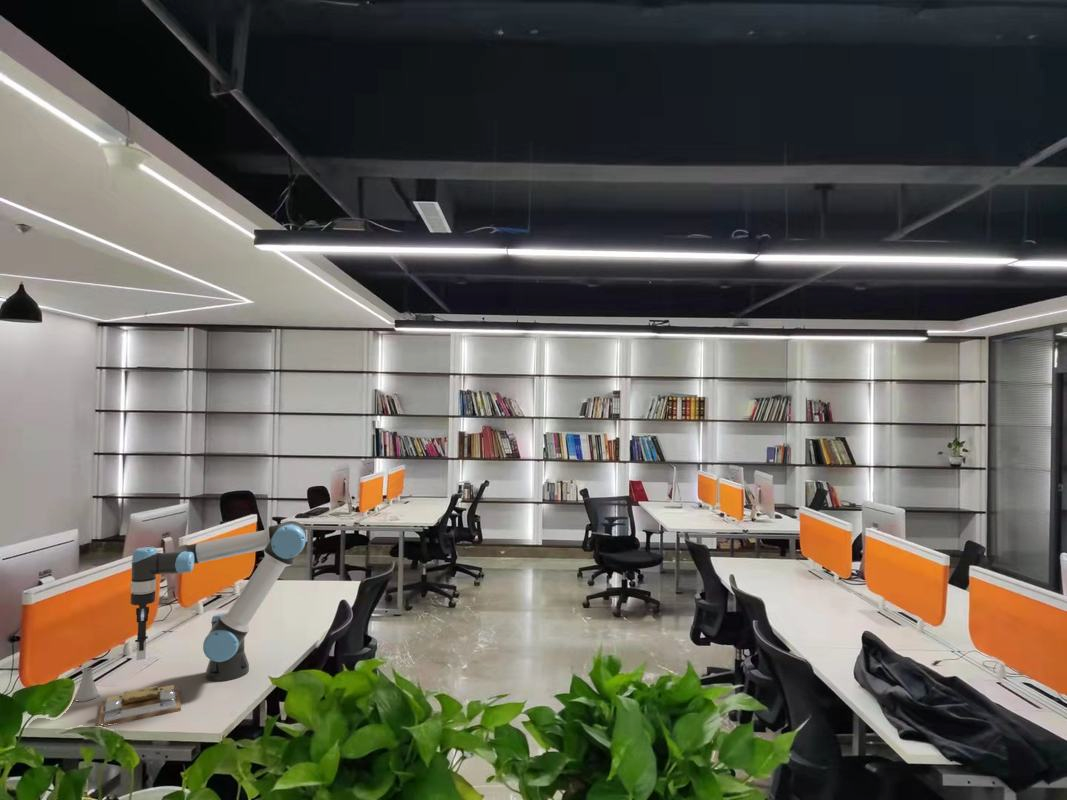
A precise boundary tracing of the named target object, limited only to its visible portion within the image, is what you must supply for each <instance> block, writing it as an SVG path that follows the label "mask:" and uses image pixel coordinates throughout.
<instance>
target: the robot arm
mask: <svg viewBox="0 0 1067 800" xmlns="http://www.w3.org/2000/svg"><path fill="white" fill-rule="evenodd" d="M306 539H307V531H306V529H305V527H304V526H303V525H302V524H301V523H299V522H298V521H294V520H293V521H292V520H290V521H285V522H282V523H279V524H276V525H275V524H274V525H270V526H268V527H267V528H266V529H264V530H258V531H253V532H248V533H242V534H237V535H234V536H227V537H223V538H218V539H212V540H208V541H203V542H197V543H193V544H183V545H180V546H178V547H176V548H175V549H174V550H173V551H172V552H158V550H157V549H158V548H156V547H153V546H145V547H138V548H136V549H134V550H133V552H132V558H131V579H130V580H131V582H130V583H129V585H128V586H129V587H130V588H131V589H130V592H131V594H130V605H133V606H138V607H136V608H135V615H136V623H137V636H136V637H137V639H135V640H134V643H136V659H135V660H136V661H139V660H146V654H147V653H146V650H147V649H146V648H147V639H149V636H148V635H147V622H148V621H149V613H150V606H148V605H149V604H153V603H154V602H155V601H156V591H155V590H156V588H157V586H156V585H157V584H156V583H157V575H170V574H171V575H174V574H180V575H181V574H185V573H187V574H188V573H190V572H193V570H194V567H195V566H194V565H196V564H200V563H205V562H206V563H207V562H209V561H215V560H221V559H224V558H230V557H235V556H241V555H244V554H248V553H253V552H254V553H255V552H259V551H263V553H264V557H263V558H262V560H261V561H260V563H259V564H258V566H257V568H256V569H255V570H254V572H253V574H252V576H250V578H249V580H248V581H247V583H246V584H245V585H244V587H243V589H242V590H241V591H240V593H239V595H238V596H237V598H236V599H235V601H234V603H233V604H232V605H231V607H230V608H229V610H228V612H223V613H218V614H214V615H213V616H212V617H211V622H210V623H211V628H210V631H209V632H208V634H207V636H206V637H205V638H204V639H203V640H204V641H203V645H202V649H203V653H204V656H205V657H206V658H207V659H208V660H209V661H208V665H207V667H206V670H205V678H206V679H207V680H209V681H213V682H219V681H220V682H221V681H222V682H223V681H228V680H230V681H231V680H233V679H237V678H241V677H243V676H245V675H247V674H248V673H249V671H250V663H249V661H248V658H247V655H246V651H245V637H246V636H247V634H248V633H249V631H250V627H249V623H250V622H251V620H252V619H253V617H254V616H255V615H256V613H257V612H258V609H259V608H260V606H261V605H262V603H263V602H264V601H265V599H266V598H267V595H268V594H269V593H270V591H271V590H272V588H273V587H274V585H275V584H276V582H277V581H278V579H279V577H280V576H281V574H282V573H283V571H284V569H286V567H289V566H290V567H291V566H292V565H293V563H294V561H295V560H296V559H297V558H298V556H299V555H300V553H302V551H303V549H304V548H305V546H306Z"/></svg>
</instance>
